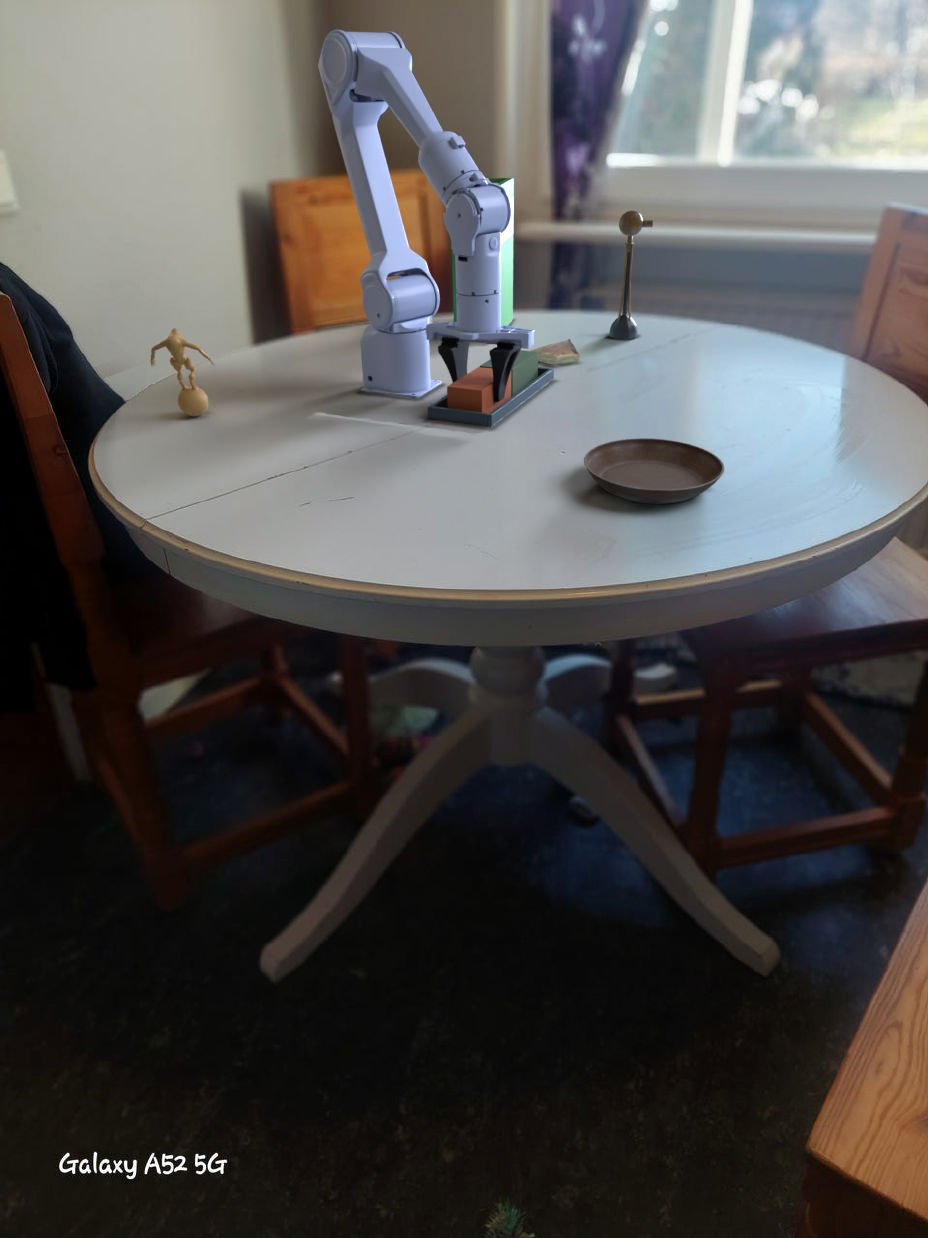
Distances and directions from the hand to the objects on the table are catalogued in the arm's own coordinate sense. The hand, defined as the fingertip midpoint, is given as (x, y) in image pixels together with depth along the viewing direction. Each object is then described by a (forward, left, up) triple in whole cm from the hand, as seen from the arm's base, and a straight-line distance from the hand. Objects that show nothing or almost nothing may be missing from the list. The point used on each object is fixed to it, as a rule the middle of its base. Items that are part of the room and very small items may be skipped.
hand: (480, 397), depth 117 cm
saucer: (+28, -17, -2) cm, 33 cm away
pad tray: (0, +5, -2) cm, 5 cm away
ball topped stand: (+7, +47, -2) cm, 48 cm away
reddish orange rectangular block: (0, 0, -1) cm, 1 cm away
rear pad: (0, +11, -1) cm, 11 cm away
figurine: (-35, -17, -2) cm, 39 cm away
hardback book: (-18, +43, -2) cm, 47 cm away
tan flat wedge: (0, +29, -2) cm, 29 cm away
